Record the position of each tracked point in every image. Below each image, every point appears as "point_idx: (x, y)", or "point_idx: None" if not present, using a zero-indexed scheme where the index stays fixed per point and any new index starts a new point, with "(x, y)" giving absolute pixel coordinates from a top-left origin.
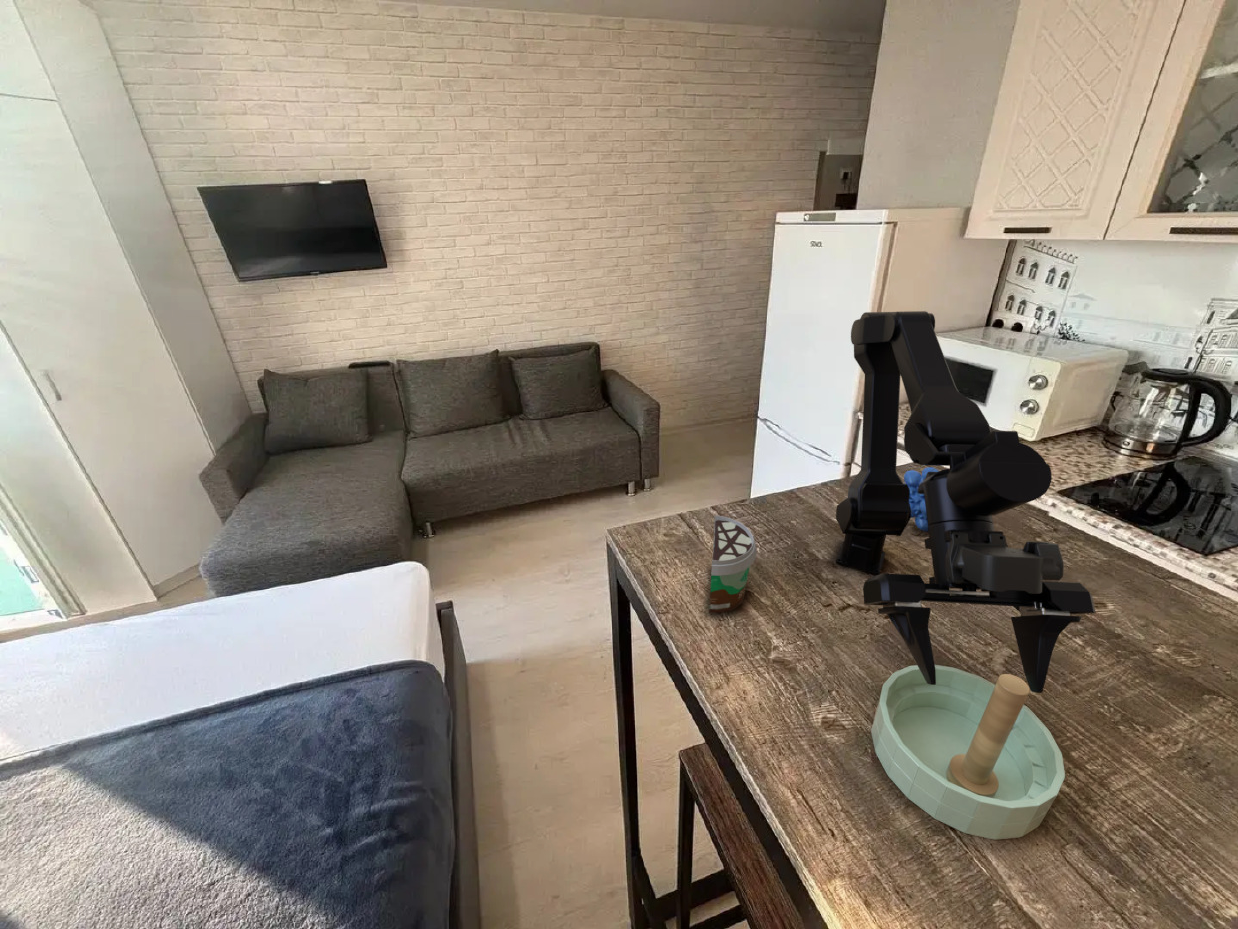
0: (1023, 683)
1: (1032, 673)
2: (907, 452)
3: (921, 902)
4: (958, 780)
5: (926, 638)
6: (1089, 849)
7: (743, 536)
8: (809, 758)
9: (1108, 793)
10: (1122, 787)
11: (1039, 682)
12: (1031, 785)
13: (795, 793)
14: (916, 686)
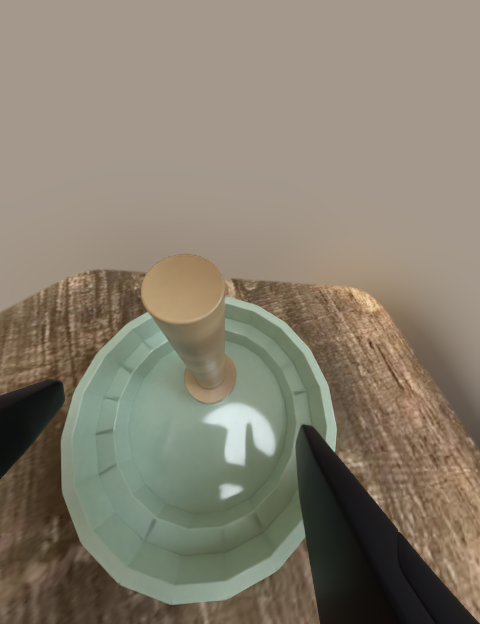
0: (151, 285)
1: (18, 422)
2: None
3: (309, 293)
4: (234, 368)
5: (402, 583)
6: (140, 315)
7: None
8: (387, 428)
9: (59, 362)
10: (34, 367)
11: (34, 390)
12: (159, 346)
13: (405, 384)
14: (211, 547)
